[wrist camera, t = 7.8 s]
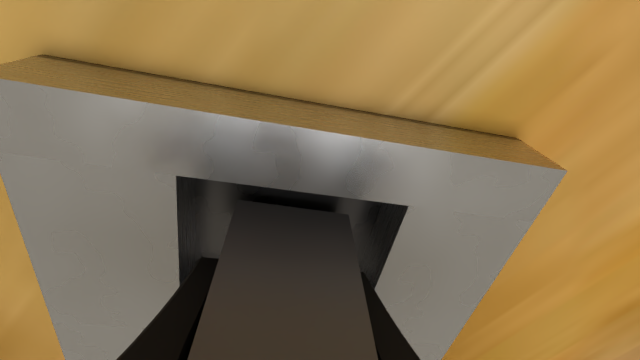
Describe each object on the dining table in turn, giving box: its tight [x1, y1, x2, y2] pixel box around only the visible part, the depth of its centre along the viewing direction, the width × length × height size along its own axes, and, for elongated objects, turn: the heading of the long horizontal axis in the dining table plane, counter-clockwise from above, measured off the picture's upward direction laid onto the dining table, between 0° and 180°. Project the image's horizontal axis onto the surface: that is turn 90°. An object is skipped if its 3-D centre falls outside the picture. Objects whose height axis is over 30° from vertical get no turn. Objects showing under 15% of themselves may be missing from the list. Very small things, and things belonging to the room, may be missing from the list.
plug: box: [187, 200, 378, 360], centre depth 9 cm, size 4×4×7 cm
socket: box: [0, 55, 567, 360], centre depth 13 cm, size 14×16×3 cm
